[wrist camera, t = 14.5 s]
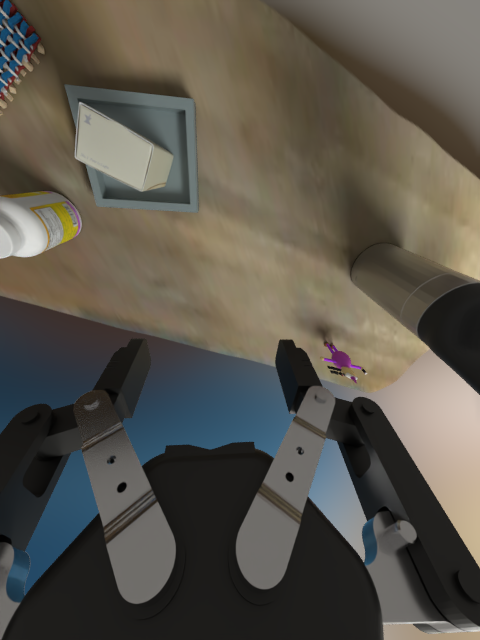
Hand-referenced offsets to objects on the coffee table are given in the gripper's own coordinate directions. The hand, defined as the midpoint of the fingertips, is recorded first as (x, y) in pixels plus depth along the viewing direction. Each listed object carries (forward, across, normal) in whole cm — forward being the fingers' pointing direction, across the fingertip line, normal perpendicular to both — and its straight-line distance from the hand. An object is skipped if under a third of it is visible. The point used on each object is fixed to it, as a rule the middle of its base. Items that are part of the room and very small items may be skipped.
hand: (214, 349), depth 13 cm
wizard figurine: (+28, -27, +23) cm, 45 cm away
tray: (+28, +10, -10) cm, 31 cm away
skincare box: (+28, +10, -10) cm, 31 cm away
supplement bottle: (+28, +24, -2) cm, 37 cm away
